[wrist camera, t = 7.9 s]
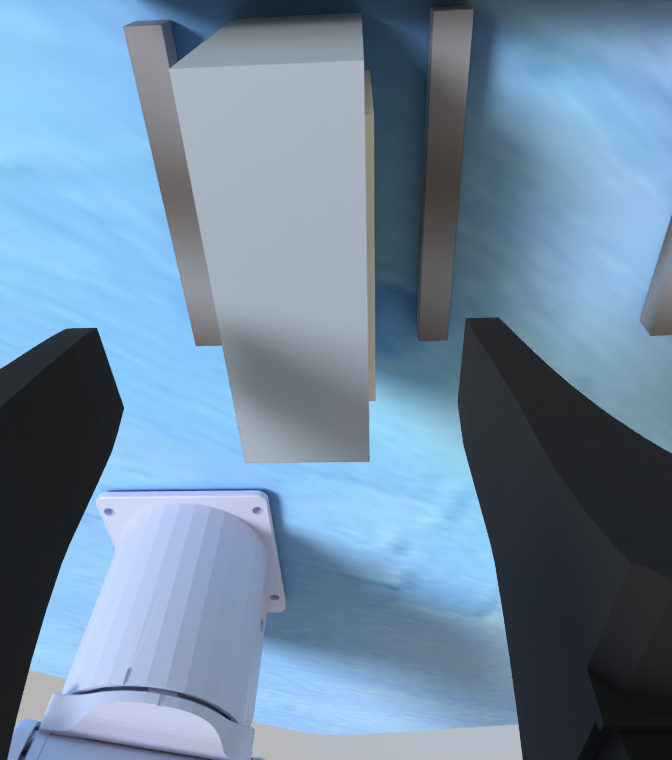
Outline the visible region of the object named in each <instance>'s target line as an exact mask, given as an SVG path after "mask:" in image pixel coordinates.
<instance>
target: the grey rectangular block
mask: <svg viewBox="0 0 672 760" xmlns="http://www.w3.org/2000/svg"><path fill="white" fill-rule="evenodd" d="M169 72H170V77H171V82H172V87H173V92H174V98H175V103H176V108H177V113H178V118H179V124H180V129H181V134H182V139H183V144H184V149H185V155H186V160H187V165H188V170H189V175H190V181H191V186H192V191H193V196H194V201H195V207H196V212H197V217H198V222H199V227H200V232H201V238H202V243H203V248H204V253H205V258H206V264H207V269H208V274H209V279H210V284H211V289H212V295H213V300H214V305H215V310H216V315H217V321H218V326H219V331H220V336H221V341H222V347H223V352H224V357H225V362H226V367H227V372H228V378H229V383H230V388H231V393H232V398H233V404H234V409H235V414H236V419H237V424H238V429H239V435H240V440H241V445H242V450H243V455H244V461H245V463H300V462H370V458H369V401H375V201H374V108H373V97H372V86H371V75H370V70H364V52H363V33H362V14H361V13H342V14H321V15H300V16H280V17H259V18H238V19H231V20H230V21H229V22H228V23H226V24H225V25H224V26H223V27H221V28H220V29H219V30H218V31H216V32H215V33H214V34H213V35H211V36H210V37H209V38H207V39H206V40H205V41H204V42H202V43H201V44H200V45H199V46H197V47H196V48H195V49H194V50H192V51H191V52H190V53H189V54H187V55H186V56H185V57H183V58H182V59H181V60H180V61H178V62H177V63H176V64H175V65H173V66H172V67H171V68H170V69H169Z"/></svg>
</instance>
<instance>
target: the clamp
mask: <svg viewBox="0 0 672 760" xmlns="http://www.w3.org/2000/svg"><path fill="white" fill-rule="evenodd" d="M473 14H474V9H473V8H472V7H470V6H469V5H452V6H433V7H430V20H429V44H428V68H427V91H426V115H425V139H424V163H423V186H422V210H421V234H420V258H419V281H418V305H417V332H418V338H419V341H437V340H447V338H448V326H449V313H450V301H451V288H452V276H453V263H454V251H455V238H456V226H457V214H458V201H459V189H460V176H461V164H462V151H463V139H464V126H465V114H466V101H467V89H468V76H469V64H470V52H471V39H472V27H473ZM123 28H124V32H125V37H126V41H127V46H128V50H129V54H130V59H131V63H132V68H133V72H134V76H135V81H136V85H137V90H138V94H139V98H140V103H141V107H142V111H143V116H144V120H145V125H146V129H147V133H148V138H149V142H150V147H151V151H152V155H153V160H154V164H155V169H156V173H157V177H158V182H159V186H160V190H161V195H162V199H163V204H164V208H165V212H166V217H167V221H168V226H169V230H170V234H171V239H172V243H173V248H174V252H175V256H176V261H177V265H178V269H179V274H180V278H181V283H182V287H183V291H184V296H185V300H186V305H187V309H188V313H189V318H190V322H191V327H192V331H193V335H194V340H195V344H196V346H219V345H222V341H221V336H220V331H219V326H218V321H217V315H216V310H215V305H214V300H213V295H212V289H211V284H210V279H209V274H208V269H207V264H206V258H205V253H204V248H203V243H202V238H201V232H200V227H199V222H198V217H197V212H196V207H195V201H194V196H193V191H192V186H191V181H190V175H189V170H188V165H187V160H186V155H185V149H184V144H183V139H182V134H181V129H180V124H179V118H178V113H177V108H176V103H175V98H174V92H173V87H172V82H171V77H170V72H169V69H170V68H171V67H172V66H173V65H175V64H176V63H177V62H178V57H177V51H176V46H175V40H174V35H173V29H172V24H171V20H157V21H137V22H133V23H130V24H128V25H126V26H124V27H123ZM640 322H641V323H642V324H643V326H644V327H645V329H646V330H647V331H648V333H649V334H650V336H655V335H672V217H671V220H670V223H669V226H668V230H667V233H666V236H665V239H664V243H663V246H662V249H661V252H660V256H659V259H658V262H657V265H656V269H655V272H654V275H653V278H652V282H651V285H650V288H649V291H648V295H647V298H646V301H645V304H644V308H643V311H642V314H641V317H640Z"/></svg>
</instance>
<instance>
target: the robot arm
mask: <svg viewBox="0 0 672 760" xmlns="http://www.w3.org/2000/svg"><path fill="white" fill-rule="evenodd" d="M458 408H459V416H460V423H461V431H462V438H463V444H464V449H465V452H466V456H467V460H468V464H469V467H470V471H471V475H472V478H473V482H474V485H475V489H476V493H477V496H478V500H479V503H480V507H481V511H482V514H483V518H484V522H485V525H486V529H487V532H488V536H489V540H490V544H491V548H492V553H493V557H494V561H495V567H496V573H497V579H498V585H499V591H500V597H501V604H502V610H503V616H504V623H505V630H506V636H507V643H508V650H509V656H510V663H511V671H512V678H513V686H514V693H515V700H516V708H517V715H518V723H519V731H520V740H521V748H522V756H523V760H672V453H670V452H668V451H666V450H664V449H663V448H661V447H659V446H658V445H656V444H654V443H652V442H651V441H649V440H647V439H646V438H644V437H643V436H641V435H640V434H638V433H636V432H635V431H633V430H632V429H630V428H629V427H627V426H626V425H624V424H623V423H621V422H620V421H618V420H617V419H615V418H614V417H612V416H611V415H609V414H608V413H607V412H605V411H604V410H602V409H601V408H600V407H598V406H597V405H596V404H594V403H593V402H592V401H591V400H589V399H588V398H587V397H585V396H584V395H583V394H582V393H580V392H579V391H578V390H576V389H575V388H574V387H573V386H572V385H570V384H569V383H568V382H567V381H566V380H564V379H563V378H562V377H561V376H560V375H559V374H557V373H556V372H555V371H554V370H553V369H552V368H551V367H550V366H548V365H547V364H546V363H545V362H544V361H543V360H542V359H541V358H540V357H539V356H538V355H537V354H535V353H534V352H533V351H532V350H531V349H530V348H529V347H528V346H527V345H526V344H525V343H524V342H523V341H522V340H521V339H520V338H519V337H518V336H517V335H516V334H515V333H514V332H513V331H512V330H511V329H510V328H509V327H508V326H507V325H506V324H505V323H504V322H503V321H502V320H500V319H499V318H466V323H465V334H464V344H463V354H462V364H461V374H460V384H459V394H458ZM123 410H124V406H123V403H122V400H121V398H120V395H119V392H118V389H117V386H116V383H115V380H114V377H113V374H112V371H111V368H110V365H109V362H108V359H107V356H106V353H105V350H104V347H103V344H102V342H101V339H100V336H99V333H98V330H97V328H72V329H65V330H63V331H61V332H59V333H57V334H55V335H54V336H52V337H50V338H48V339H47V340H45V341H43V342H42V343H40V344H39V345H37V346H35V347H34V348H32V349H31V350H29V351H28V352H26V353H25V354H23V355H21V356H20V357H18V358H17V359H15V360H14V361H12V362H11V363H9V364H8V365H6V366H5V367H3V368H1V369H0V760H264V759H263V758H259V757H251V755H252V746H253V739H254V728H252V727H250V726H251V723H252V720H253V715H254V709H255V701H256V694H257V686H258V678H259V671H260V663H261V655H262V648H263V640H264V632H265V624H266V617H267V613H279V612H283V611H284V610H285V608H286V598H285V592H284V586H283V581H282V575H281V569H280V563H279V557H278V551H277V545H276V540H275V534H274V528H273V522H272V516H271V510H270V504H269V499H268V496H267V494H265V493H264V492H262V491H258V490H241V491H147V492H103V493H101V494H99V496H98V498H97V500H96V505H97V507H98V509H99V512H100V514H101V516H102V519H103V521H104V523H105V526H106V528H107V530H108V532H109V535H110V537H111V539H112V542H113V544H114V546H115V549H116V552H115V554H114V557H113V559H112V562H111V565H110V567H109V570H108V573H107V575H106V578H105V580H104V583H103V586H102V588H101V591H100V593H99V596H98V599H97V601H96V604H95V606H94V609H93V612H92V614H91V617H90V620H89V622H88V625H87V627H86V630H85V633H84V635H83V638H82V640H81V643H80V646H79V648H78V651H77V654H76V656H75V659H74V661H73V664H72V667H71V669H70V672H69V674H68V677H67V680H66V682H65V686H64V688H63V691H62V693H54V694H53V695H52V697H51V699H50V702H49V704H48V707H47V710H46V712H45V715H44V717H43V720H42V722H40V721H36V720H32V719H29V718H28V719H24V720H22V721H20V722H19V723H18V724H17V725H16V727H15V723H16V718H17V714H18V710H19V706H20V703H21V699H22V695H23V691H24V687H25V683H26V679H27V676H28V672H29V668H30V664H31V660H32V657H33V653H34V650H35V646H36V643H37V640H38V636H39V633H40V629H41V626H42V623H43V619H44V616H45V613H46V609H47V606H48V603H49V600H50V597H51V594H52V591H53V588H54V585H55V582H56V579H57V576H58V573H59V570H60V567H61V564H62V562H63V559H64V557H65V554H66V552H67V549H68V547H69V544H70V542H71V540H72V538H73V536H74V533H75V531H76V529H77V527H78V525H79V523H80V520H81V518H82V516H83V514H84V512H85V510H86V507H87V505H88V503H89V501H90V499H91V497H92V494H93V492H94V490H95V488H96V486H97V484H98V481H99V479H100V477H101V475H102V473H103V470H104V468H105V466H106V464H107V461H108V459H109V457H110V454H111V452H112V449H113V446H114V443H115V440H116V436H117V433H118V429H119V426H120V422H121V418H122V414H123ZM257 507H260V508H257Z"/></svg>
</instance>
